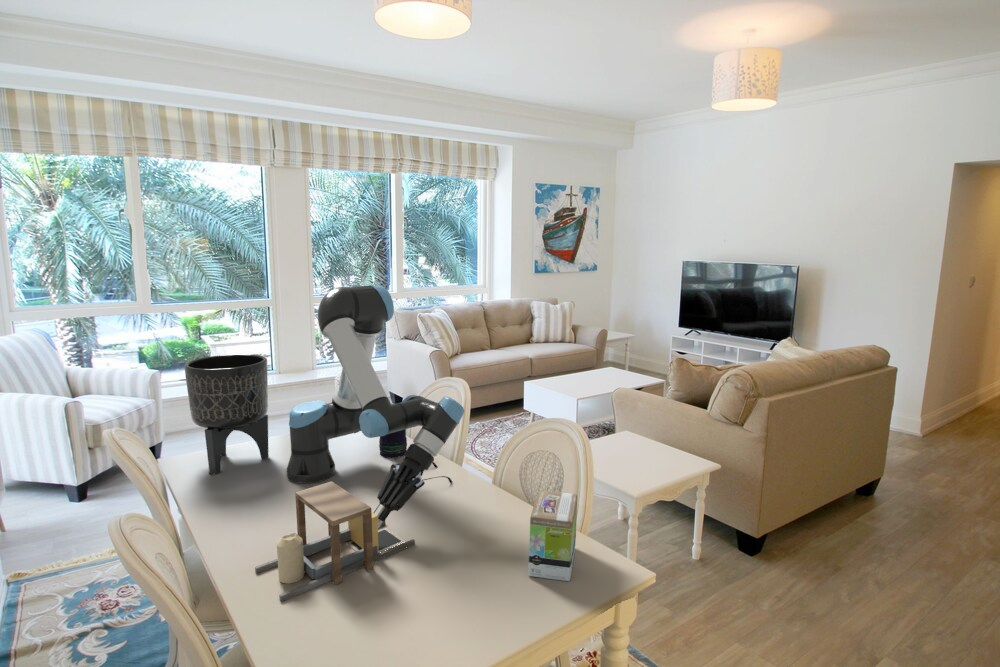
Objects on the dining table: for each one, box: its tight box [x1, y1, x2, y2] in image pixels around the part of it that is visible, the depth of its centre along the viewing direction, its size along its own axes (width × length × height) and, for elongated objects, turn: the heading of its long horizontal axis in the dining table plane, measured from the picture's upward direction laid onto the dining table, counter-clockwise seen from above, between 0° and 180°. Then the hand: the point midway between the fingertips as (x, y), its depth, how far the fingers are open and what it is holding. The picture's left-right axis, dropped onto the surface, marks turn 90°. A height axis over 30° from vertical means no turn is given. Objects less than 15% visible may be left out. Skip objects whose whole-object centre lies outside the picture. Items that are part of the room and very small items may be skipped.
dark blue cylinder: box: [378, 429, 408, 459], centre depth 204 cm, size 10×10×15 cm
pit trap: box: [345, 527, 406, 553], centre depth 144 cm, size 10×12×1 cm
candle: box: [276, 532, 305, 585], centre depth 128 cm, size 6×6×10 cm
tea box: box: [527, 490, 578, 582], centre depth 135 cm, size 15×10×15 cm, turn 168°
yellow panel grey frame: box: [303, 512, 379, 580], centre depth 136 cm, size 12×16×10 cm
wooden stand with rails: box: [254, 481, 416, 602], centre depth 136 cm, size 20×34×15 cm, turn 133°
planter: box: [184, 353, 270, 475], centre depth 193 cm, size 25×25×36 cm
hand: (370, 530), depth 142 cm, fingers closed
